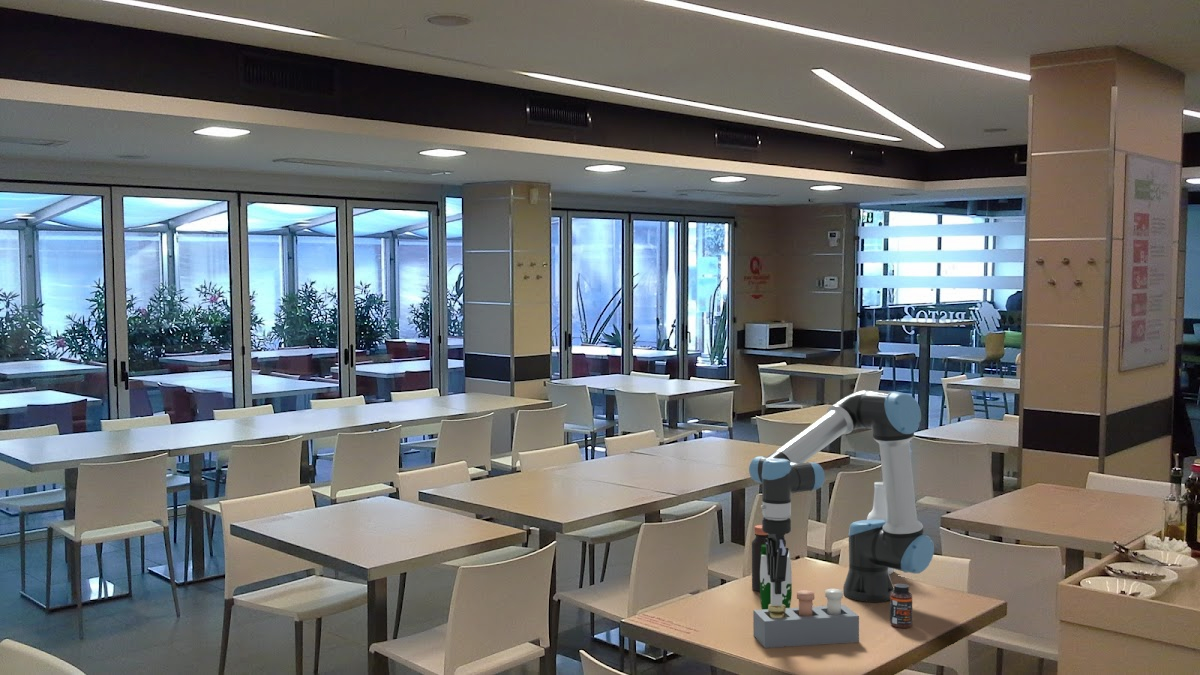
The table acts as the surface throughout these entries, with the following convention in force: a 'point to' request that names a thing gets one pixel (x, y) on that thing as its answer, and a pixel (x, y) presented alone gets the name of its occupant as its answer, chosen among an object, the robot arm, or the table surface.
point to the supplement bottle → (901, 606)
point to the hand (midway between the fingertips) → (776, 604)
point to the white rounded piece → (833, 601)
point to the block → (806, 627)
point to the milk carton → (766, 583)
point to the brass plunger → (776, 611)
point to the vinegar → (757, 556)
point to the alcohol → (879, 507)
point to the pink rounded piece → (805, 602)
